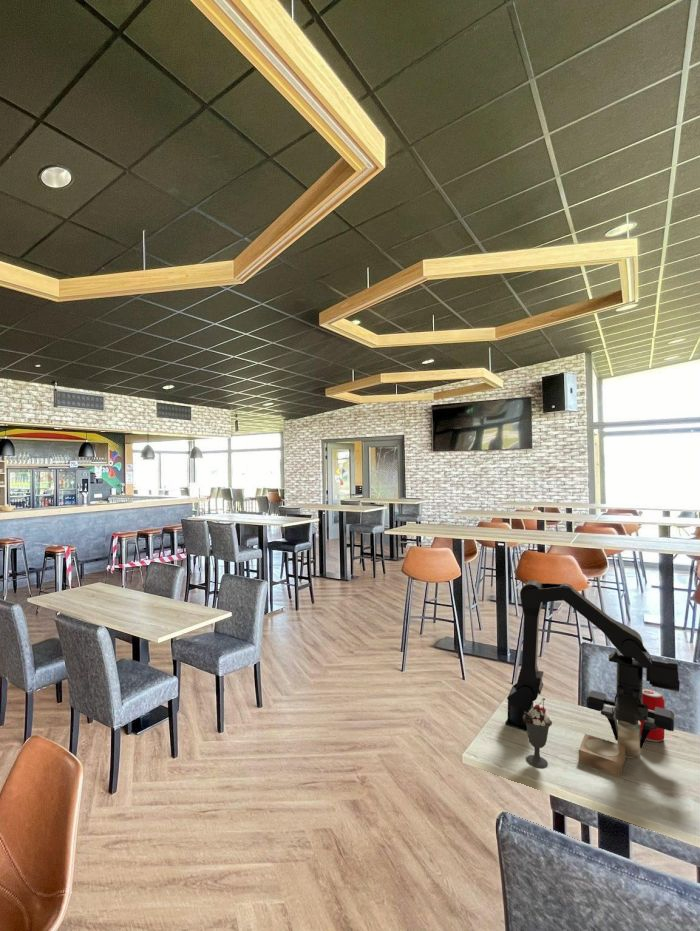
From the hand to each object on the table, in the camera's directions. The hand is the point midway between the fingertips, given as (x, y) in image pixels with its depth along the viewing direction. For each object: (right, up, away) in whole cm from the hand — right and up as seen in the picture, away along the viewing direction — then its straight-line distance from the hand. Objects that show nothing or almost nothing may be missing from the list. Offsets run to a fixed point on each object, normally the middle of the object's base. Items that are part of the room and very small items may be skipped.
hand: (628, 743), depth 118 cm
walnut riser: (-9, -2, -4) cm, 10 cm away
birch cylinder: (0, -2, 0) cm, 2 cm away
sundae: (-25, -2, -5) cm, 26 cm away
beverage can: (+10, -3, +7) cm, 13 cm away
